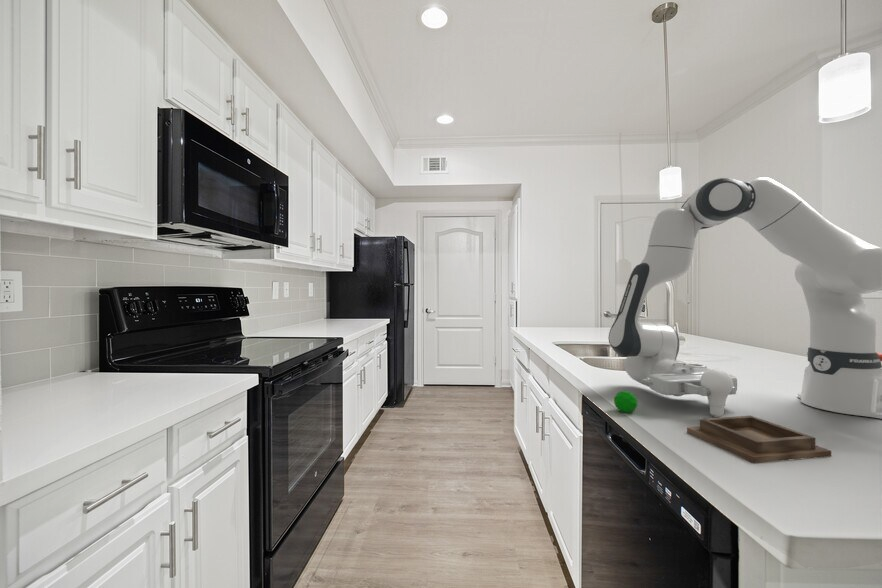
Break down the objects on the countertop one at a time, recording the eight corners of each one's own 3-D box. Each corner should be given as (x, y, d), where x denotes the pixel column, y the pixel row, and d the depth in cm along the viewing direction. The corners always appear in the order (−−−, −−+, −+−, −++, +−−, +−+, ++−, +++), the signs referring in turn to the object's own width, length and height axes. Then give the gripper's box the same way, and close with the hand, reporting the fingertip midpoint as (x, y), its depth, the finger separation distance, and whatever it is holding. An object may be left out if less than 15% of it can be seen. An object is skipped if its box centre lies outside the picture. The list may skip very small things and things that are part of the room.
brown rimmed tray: (753, 427, 81) (754, 413, 81) (831, 456, 67) (831, 439, 67) (687, 432, 78) (687, 417, 78) (753, 463, 64) (753, 445, 64)
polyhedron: (609, 410, 92) (610, 391, 92) (621, 407, 95) (621, 388, 95) (629, 416, 88) (630, 396, 88) (641, 412, 91) (641, 392, 91)
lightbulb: (722, 412, 90) (722, 366, 90) (740, 421, 84) (739, 372, 84) (695, 412, 91) (694, 366, 91) (710, 421, 85) (710, 372, 84)
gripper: (638, 367, 98) (679, 379, 85) (707, 364, 102) (758, 376, 88) (638, 391, 98) (679, 408, 85) (707, 388, 102) (758, 403, 88)
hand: (720, 391), depth 86 cm, fingers closed on lightbulb, 5 cm apart
